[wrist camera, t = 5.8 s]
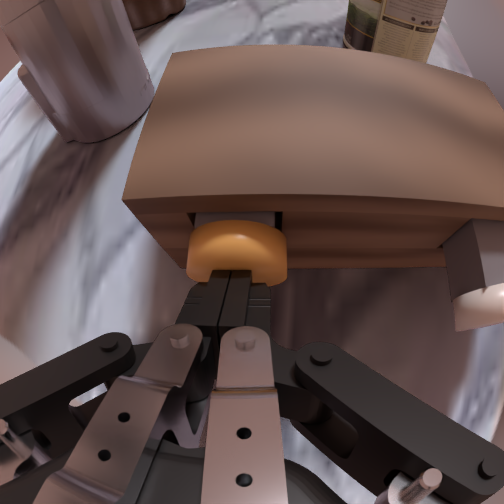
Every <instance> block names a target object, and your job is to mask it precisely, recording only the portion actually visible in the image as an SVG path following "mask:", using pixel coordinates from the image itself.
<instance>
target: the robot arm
mask: <svg viewBox="0 0 504 504" xmlns="http://www.w3.org/2000/svg"><path fill="white" fill-rule="evenodd" d="M0 27H1V28H2V30H3V32H4V34H5V35H6V37H7V39H8V41H9V42H10V44H11V46H12V47H13V49H14V51H15V52H16V54H17V56H18V57H19V59H20V61H21V62H22V65H21V67H20V68H19V70H18V77H19V79H20V80H21V82H22V83H23V85H24V86H25V88H26V89H27V90H28V92H29V93H30V95H31V96H32V98H33V99H34V100H35V102H36V103H37V105H38V106H39V107H40V109H41V110H42V111H43V113H44V114H45V115H46V117H47V118H48V120H49V121H50V122H51V124H52V125H53V126H54V128H55V129H56V130H57V131H58V133H59V134H60V135H61V137H62V138H63V139H64V141H65V142H69V141H71V140H77V141H79V142H84V143H90V142H97V141H100V140H103V139H106V138H108V137H111V136H113V135H115V134H117V133H118V132H120V131H122V130H123V129H125V128H127V127H128V126H129V125H131V124H132V123H133V122H135V121H136V120H137V119H138V118H139V117H140V116H141V115H142V114H143V113H144V112H145V110H146V109H147V108H148V107H149V105H150V103H151V102H152V100H153V96H154V87H153V84H152V81H151V79H150V75H149V72H148V69H147V68H146V66H145V63H144V60H143V58H142V55H141V52H140V49H139V46H138V44H137V41H136V38H135V35H134V33H133V30H132V27H131V24H130V21H129V19H128V16H127V13H126V10H125V7H124V4H123V2H122V0H0ZM270 315H271V290H270V288H269V287H268V286H267V284H266V283H252V270H233V271H232V270H212V273H211V275H210V278H209V280H208V282H199V283H197V284H196V285H195V286H194V287H192V288H191V290H190V292H189V294H188V296H187V298H186V300H185V303H184V305H183V307H182V309H181V312H180V314H179V316H178V318H177V320H176V323H175V325H171V326H169V327H167V328H165V329H163V330H162V331H161V332H160V333H159V334H158V336H157V338H156V339H155V341H154V342H152V343H146V344H139V345H132V342H131V339H130V338H129V337H128V336H127V335H126V334H123V333H119V332H112V333H107V334H104V335H102V336H100V337H97V338H95V339H93V340H91V341H89V342H87V343H85V344H83V345H81V346H79V347H77V348H75V349H73V350H71V351H69V352H67V353H65V354H63V355H61V356H59V357H57V358H55V359H52V360H50V361H48V362H46V363H44V364H42V365H40V366H38V367H36V368H34V369H32V370H30V371H28V372H26V373H24V374H22V375H19V376H17V377H15V378H14V379H11V380H9V381H7V382H5V383H3V384H1V385H0V504H347V503H346V502H345V501H344V500H342V499H341V498H340V497H339V496H338V495H337V494H336V493H335V492H334V491H333V490H331V489H330V488H329V487H328V486H327V485H326V484H325V483H324V482H323V481H322V480H321V479H320V478H319V477H318V476H316V475H315V474H314V473H312V472H311V471H310V470H308V469H307V468H305V467H303V466H301V465H300V464H297V463H295V462H293V461H290V460H287V459H284V454H283V444H282V434H281V424H280V417H284V418H288V419H290V422H291V424H292V425H293V426H294V427H295V428H296V429H297V430H298V431H299V432H300V433H301V434H302V435H303V436H304V437H305V438H307V439H308V440H309V441H310V442H311V443H312V444H313V445H314V446H315V447H317V448H318V449H319V450H320V451H321V452H322V453H323V454H325V455H326V456H327V457H328V458H329V459H330V460H332V461H333V462H334V463H335V464H336V465H338V466H339V467H340V468H341V469H342V470H344V471H345V472H346V473H347V474H348V475H350V476H351V477H352V478H353V479H355V480H356V481H357V482H358V483H360V484H361V485H362V486H364V487H365V488H366V489H367V490H369V491H370V492H371V493H373V494H374V495H375V496H377V498H376V501H375V503H374V504H481V503H482V502H483V501H485V500H486V499H488V498H489V497H491V496H492V495H493V494H495V493H496V492H497V491H498V490H500V489H501V488H502V487H503V486H504V451H503V450H502V449H500V448H499V447H497V446H495V445H494V444H492V443H490V442H488V441H487V440H485V439H483V438H482V437H480V436H478V435H477V434H475V433H473V432H471V431H470V430H468V429H466V428H465V427H463V426H461V425H460V424H458V423H456V422H455V421H453V420H452V419H450V418H448V417H447V416H445V415H443V414H442V413H440V412H438V411H437V410H435V409H434V408H432V407H430V406H429V405H427V404H426V403H424V402H422V401H421V400H419V399H418V398H416V397H414V396H413V395H411V394H410V393H408V392H407V391H405V390H403V389H402V388H400V387H399V386H397V385H396V384H394V383H392V382H391V381H389V380H388V379H386V378H385V377H383V376H382V375H380V374H378V373H377V372H375V371H374V370H372V369H371V368H369V367H368V366H366V365H365V364H363V363H362V362H360V361H359V360H357V359H356V358H354V357H353V356H351V355H350V354H348V353H347V352H345V351H344V350H342V349H341V348H339V347H337V346H336V345H333V344H330V343H326V342H314V343H309V344H307V345H305V346H303V347H301V348H300V349H299V350H298V351H293V350H289V349H286V348H283V347H281V346H279V345H278V344H277V343H275V342H274V341H273V339H272V338H271V335H270ZM214 379H217V385H216V389H213V390H212V388H213V384H214ZM102 383H104V384H105V386H106V388H107V390H108V391H106V392H105V393H103V394H101V395H99V396H97V397H95V398H94V399H92V400H90V401H88V402H86V403H84V404H82V405H81V406H78V407H73V406H70V405H69V403H70V401H71V400H72V399H74V398H76V397H77V396H79V395H81V394H83V393H85V392H87V391H89V390H91V389H93V388H94V387H96V386H98V385H100V384H102ZM209 408H210V409H209ZM208 411H209V419H208V429H207V439H206V447H202V448H199V441H200V437H201V434H202V431H203V428H204V424H205V421H206V418H207V415H208Z"/></svg>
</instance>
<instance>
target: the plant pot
mask: <svg viewBox="0 0 504 504" xmlns="http://www.w3.org/2000/svg"><path fill="white" fill-rule="evenodd" d="M122 2H123V4H124V7H125V10H126V13H127V16H128V19H129V21H130V24H131V27H132V30H137V29H141V28H144V27H147V26H150V25H152V24H155V23H157V22H160V21H162V20H165V19H166V18H167V16H168V15H169V14H176V13H178V12H179V11H181V10H182V9H183V8H184V7H185V5H186V0H122Z"/></svg>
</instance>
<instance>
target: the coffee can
mask: <svg viewBox="0 0 504 504" xmlns="http://www.w3.org/2000/svg"><path fill="white" fill-rule="evenodd" d="M446 3H447V0H349V5H348V13H347V19H346V26H345V33H344V36H343V41H344V44H345V45H346V47H347V48H348V49H353V50H360V51H367V52H373V53H379V54H385V55H390V56H395V57H400V58H405V59H409V60H414V61H418V62H422V63H426V62H427V59H428V56H429V53H430V51H431V48H432V45H433V42H434V40H435V37H436V34H437V31H438V28H439V25H440V22H441V19H442V16H443V13H444V10H445V7H446Z"/></svg>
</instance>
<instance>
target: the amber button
mask: <svg viewBox="0 0 504 504" xmlns="http://www.w3.org/2000/svg"><path fill="white" fill-rule="evenodd" d="M194 227H195V229H194V230H193V231H192V232H191V234H190V240H189V249H188V259H187V269H186V274H187V276H188V277H189V278H191V279H192V280H194V281H197V282H208V280H209V278H210V275H211V273H212V270H232V271H233V270H252V283H266V284H267V286H268V287H270V286H274V285H277V284H280V283H282V282H284V281H285V280H286V279H287V239H286V237H285V235H284V234H283V233H282V232H281V231H279V230H278V229H276V228H275V211H251V212H196V216H195V225H194Z"/></svg>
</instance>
